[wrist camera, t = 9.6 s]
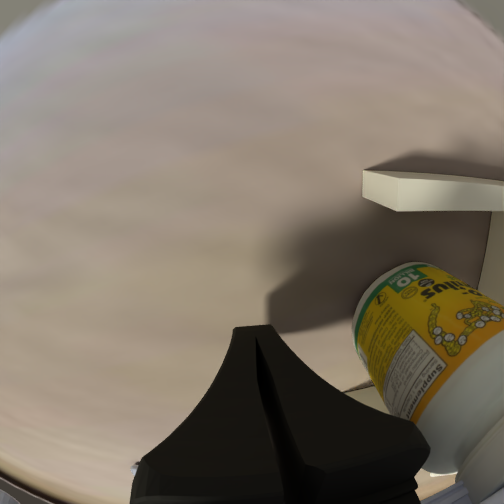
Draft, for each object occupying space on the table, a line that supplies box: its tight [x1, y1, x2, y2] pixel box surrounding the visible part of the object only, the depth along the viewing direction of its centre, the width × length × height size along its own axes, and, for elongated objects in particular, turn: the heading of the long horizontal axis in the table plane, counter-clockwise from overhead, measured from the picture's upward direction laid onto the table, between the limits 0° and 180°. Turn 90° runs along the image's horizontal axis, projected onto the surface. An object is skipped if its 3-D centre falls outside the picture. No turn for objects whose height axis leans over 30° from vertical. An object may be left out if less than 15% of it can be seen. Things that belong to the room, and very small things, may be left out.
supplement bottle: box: [352, 262, 504, 504], centre depth 8 cm, size 5×5×10 cm
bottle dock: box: [344, 170, 504, 414], centre depth 11 cm, size 12×9×2 cm
